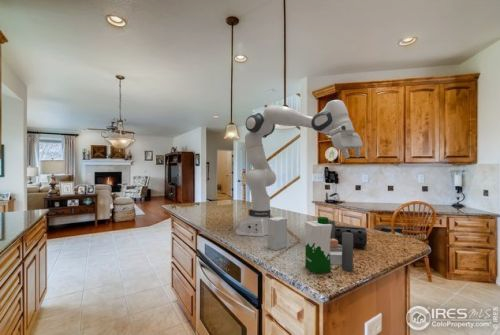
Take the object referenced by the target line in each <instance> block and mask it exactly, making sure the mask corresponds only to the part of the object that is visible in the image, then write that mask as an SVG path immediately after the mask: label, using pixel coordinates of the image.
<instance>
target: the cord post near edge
mask: <svg viewBox="0 0 500 335" xmlns="http://www.w3.org/2000/svg"><path fill="white" fill-rule="evenodd" d="M341 269H342V271H344V272H348V273H350V272H353V271H354V247H353V233H349V232H343V233H342V265H341Z"/></svg>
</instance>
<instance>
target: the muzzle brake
mask: <svg viewBox="0 0 500 335" xmlns="http://www.w3.org/2000/svg"><path fill="white" fill-rule="evenodd" d="M343 232H349V233H353V248H365V247H366V246H367V242H368V238H367V234H368V233H367V230H366V228H365V227H360V226H359V227H355V226H354V227H353V226H346V225H345V226H343V225H342V226H341V225H335V239H336V240H338V245H342V233H343Z"/></svg>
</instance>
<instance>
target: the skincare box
mask: <svg viewBox="0 0 500 335" xmlns="http://www.w3.org/2000/svg"><path fill="white" fill-rule="evenodd" d="M287 222H288V218H287V217H283V216H280V215H277V216H273V217H271V218H269V219H268V235H267V248H268V249H271V250H272V251H275V250H276V251H279V250H281V249H285V248H287V246H288V244H287V231H288V230H287V228H288V227H287V226H288V225H287V224H288V223H287Z"/></svg>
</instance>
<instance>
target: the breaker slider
mask: <svg viewBox="0 0 500 335" xmlns="http://www.w3.org/2000/svg"><path fill="white" fill-rule="evenodd" d="M338 245H339V244H338V240H336V239H330V248H335V249H338Z"/></svg>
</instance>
